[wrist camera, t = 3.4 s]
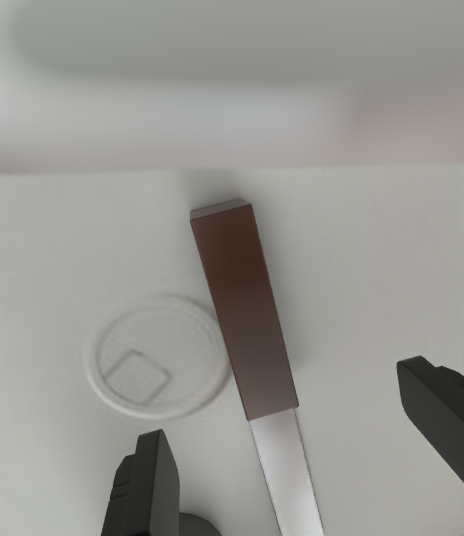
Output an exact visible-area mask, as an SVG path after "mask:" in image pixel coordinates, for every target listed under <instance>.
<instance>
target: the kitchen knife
mask: <svg viewBox="0 0 464 536" xmlns="http://www.w3.org/2000/svg"><path fill="white" fill-rule="evenodd" d="M190 223H191V226H192V230H193V233H194V237H195V240H196V244H197V247H198V251H199V254H200V258H201V261H202V265H203V268H204V272H205V275H206V279H207V282H208V286H209V289H210V293H211V296H212V300H213V303H214V307H215V310H216V314H217V317H218V321H219V324H220V328H221V331H222V335H223V338H224V342H225V345H226V349H227V352H228V356H229V359H230V363H231V366H232V370H233V373H234V377H235V380H236V384H237V387H238V390H239V394H240V397H241V401H242V404H243V408H244V411H245V415H246V418H247V420H248V421H249V423H250V427H251V430H252V434H253V437H254V441H255V444H256V448H257V451H258V455H259V458H260V462H261V465H262V469H263V472H264V476H265V479H266V483H267V486H268V490H269V493H270V497H271V500H272V504H273V507H274V511H275V514H276V518H277V521H278V525H279V528H280V532H281V535H282V536H324V532H323V528H322V524H321V520H320V515H319V511H318V507H317V503H316V499H315V495H314V491H313V486H312V482H311V478H310V474H309V470H308V466H307V462H306V458H305V453H304V449H303V445H302V441H301V437H300V433H299V429H298V424H297V420H296V416H295V412H294V408H296V407H298V406H299V403H298V398H297V394H296V390H295V386H294V382H293V377H292V373H291V369H290V365H289V360H288V356H287V352H286V348H285V343H284V339H283V335H282V331H281V326H280V322H279V318H278V314H277V310H276V305H275V301H274V297H273V293H272V288H271V284H270V280H269V276H268V271H267V267H266V263H265V259H264V254H263V250H262V246H261V242H260V238H259V233H258V229H257V225H256V221H255V216H254V212H253V208H252V205H251V204H250V203H249V202H247V201H246V200H244V199H242V198H238V199H234V200H230V201H227V202H223V203H219V204H215V205H212V206H208V207H204V208H200V209H197V210H193V211H191V212H190Z"/></svg>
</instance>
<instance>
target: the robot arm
mask: <svg viewBox="0 0 464 536" xmlns="http://www.w3.org/2000/svg"><path fill="white" fill-rule="evenodd" d="M397 374H398V381H399V388H400V395H401V402H402V405H403V408H404V410H405V412H406V414H407V416H408V418H409V419H410V420H411V421H412V423H413V424H414V425H415V426H416V427H417V428H418V430H419V431H420V432H421V433H422V434H423V435H424V437H425V438H426V439H427V440H428V441H429V442H430V444H431V445H432V446H433V447H434V448H435V449H436V451H437V452H438V453H439V454H440V455H441V457H442V458H443V459H444V460H445V461H446V462H447V464H448V465H449V466H450V467H451V468H452V469H453V471H454V472H455V473H456V474H457V475H458V476H459V478H460V479H461V480H462V481H463V482H464V376H463V375H461V374H460V373H459V372H456V371H454V370H451V369H449V368H446V367H444V366H440V367H434V366H433V365H432V364H431V363H430V362H428V361H427V360H426V359H425V358H424V357H422V356H416V357H412V358H409V359H406V360H402V361H399V362H397ZM179 496H180V482H179V474H178V469H177V466H176V463H175V460H174V457H173V455H172V452H171V449H170V447H169V444H168V441H167V438H166V436H165V433H164V431H163V430H162V429H159V430H156V431H152V432H149V433H145V434H142V435H139V437H138V441H137V446H136V452H135V454H132V455H129V456H126V457H125V458H124V460H123V461H122V463H121V464H120V466H119V467H118V469H117V471H116V474H115V478H114V482H113V489H112V491H111V495H110V501H109V504H108V508H107V512H106V516H105V521H104V525H103V529H102V533H101V536H178V530H179Z"/></svg>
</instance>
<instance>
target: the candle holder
mask: <svg viewBox="0 0 464 536" xmlns="http://www.w3.org/2000/svg"><path fill="white" fill-rule="evenodd" d="M178 536H221V535H220V533H219V532H218V531H217V530H216V529H215V528H214V527H213V526H212V524H211V523H210V522H208V521H206V520H203V519H201V518H199V517H197V516H194V515H189V514H179V530H178Z"/></svg>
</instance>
